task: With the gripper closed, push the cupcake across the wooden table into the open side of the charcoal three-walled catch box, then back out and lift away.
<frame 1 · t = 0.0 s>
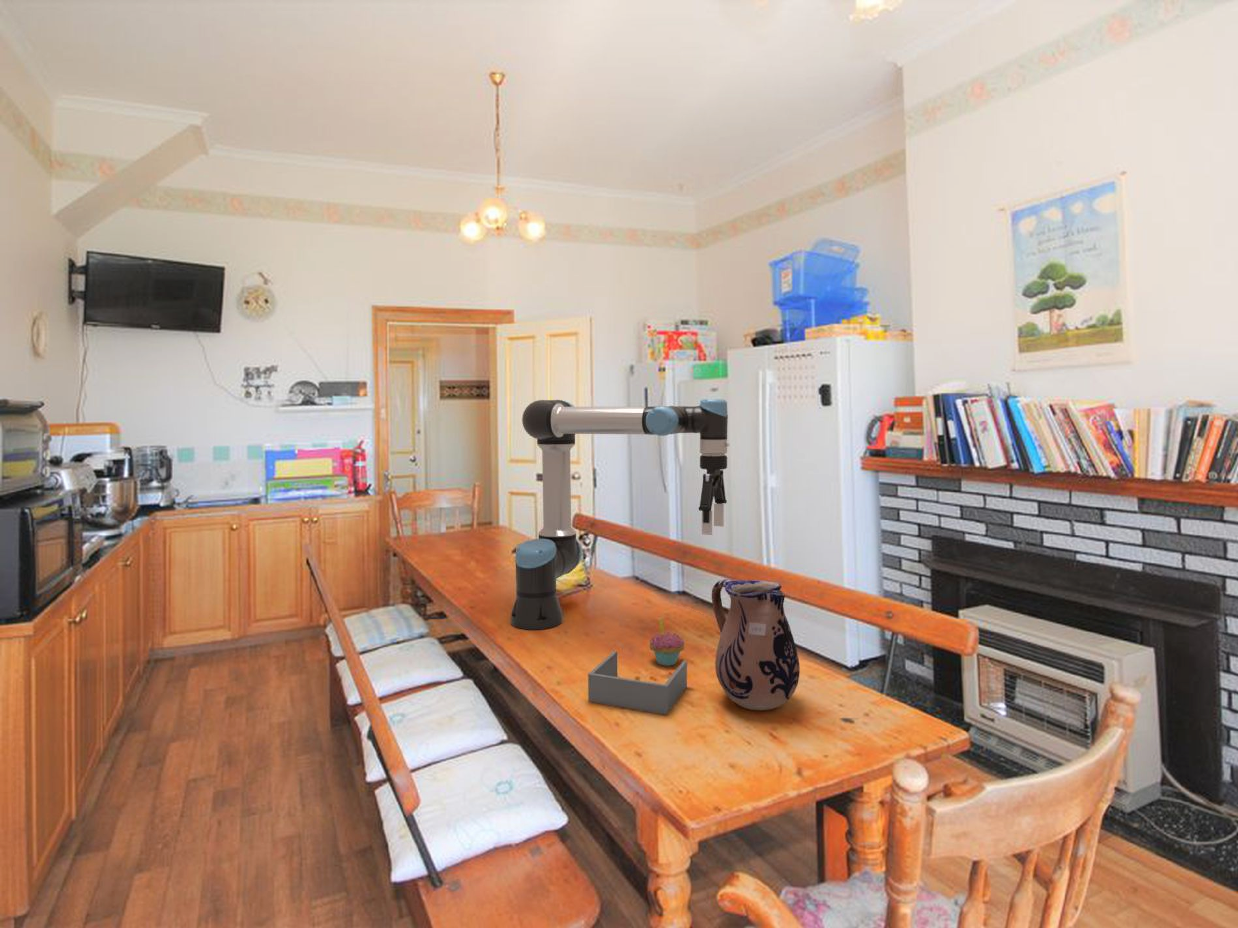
hand: (713, 530, 189), 28 cm above the table, tool pointing down, fingers open, 13 cm apart
catch box: (638, 693, 147), on the table
cupcake: (666, 662, 166), on the table
ceramic pitcher: (749, 700, 145), on the table
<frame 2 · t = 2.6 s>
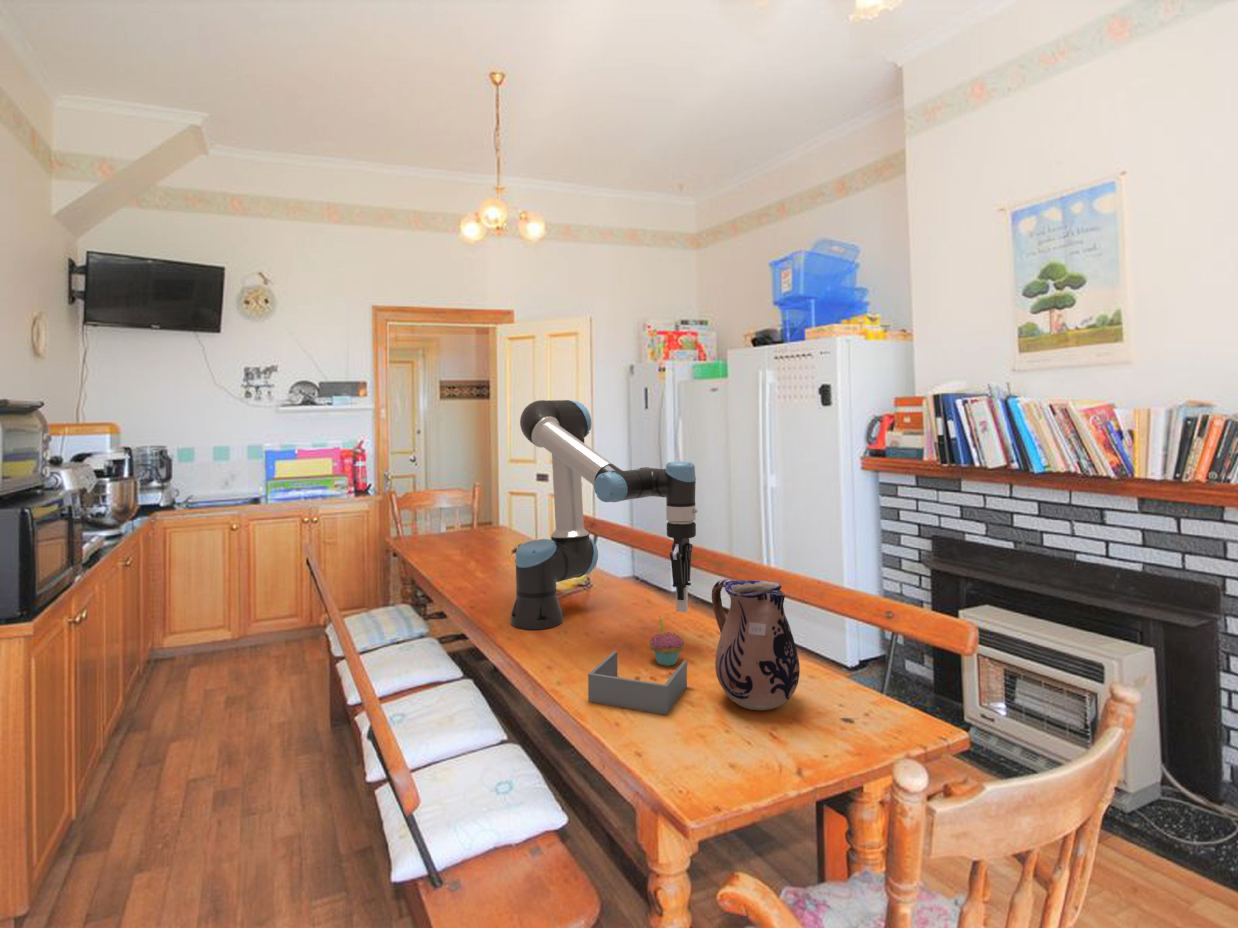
hand: (682, 610, 176), 9 cm above the table, tool pointing down, fingers closed
nothing on the table moved.
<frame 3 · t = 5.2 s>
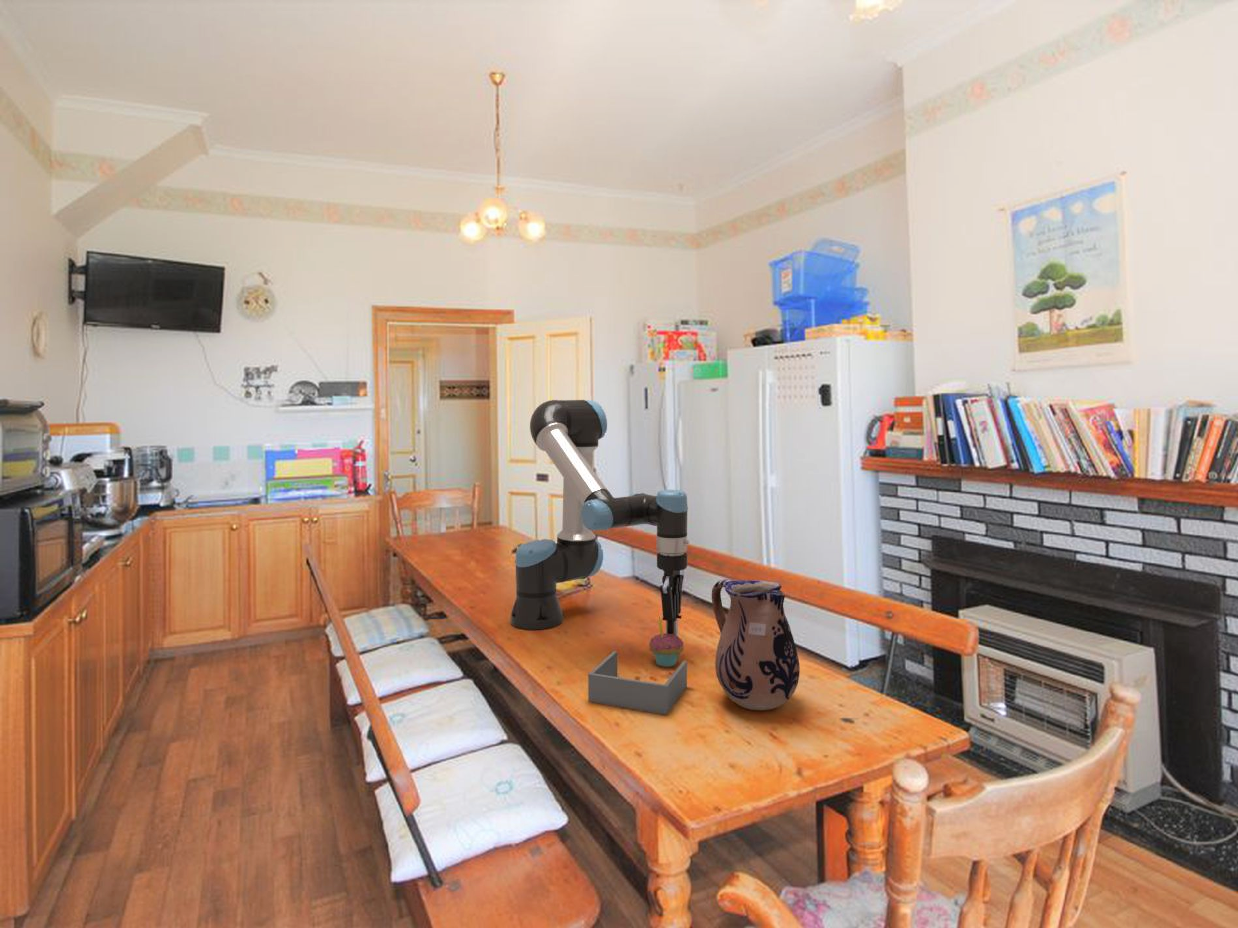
hand: (672, 644, 169), 3 cm above the table, tool pointing down, fingers closed
cupcake: (666, 663, 165), on the table, touching gripper
everything else where it was.
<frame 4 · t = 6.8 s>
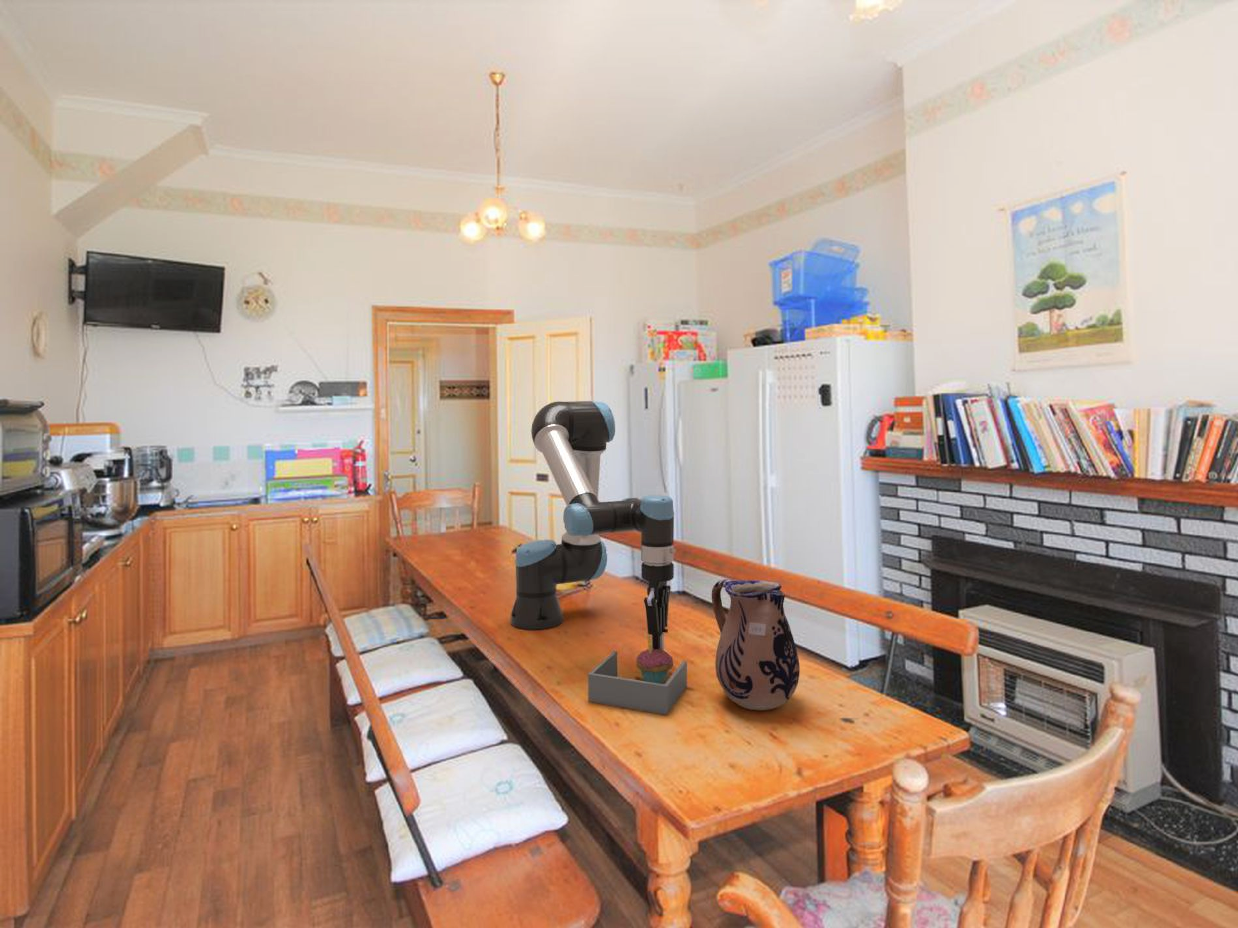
hand: (657, 660, 159), 3 cm above the table, tool pointing down, fingers closed
cupcake: (654, 681, 155), on the table, touching gripper
everything else where it was.
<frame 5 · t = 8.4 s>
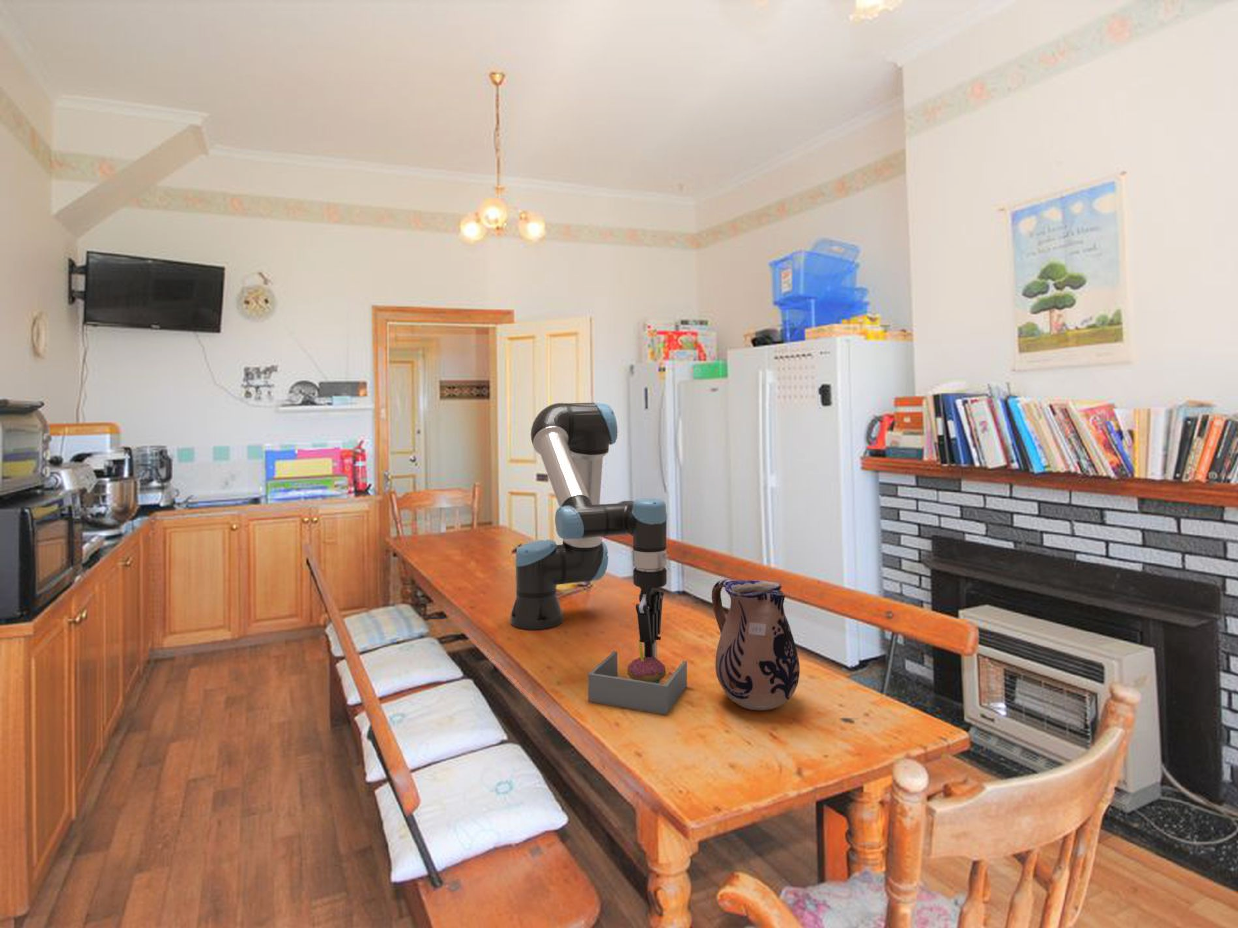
hand: (650, 668, 154), 3 cm above the table, tool pointing down, fingers closed
cupcake: (646, 690, 150), on the table, touching gripper
everything else where it was.
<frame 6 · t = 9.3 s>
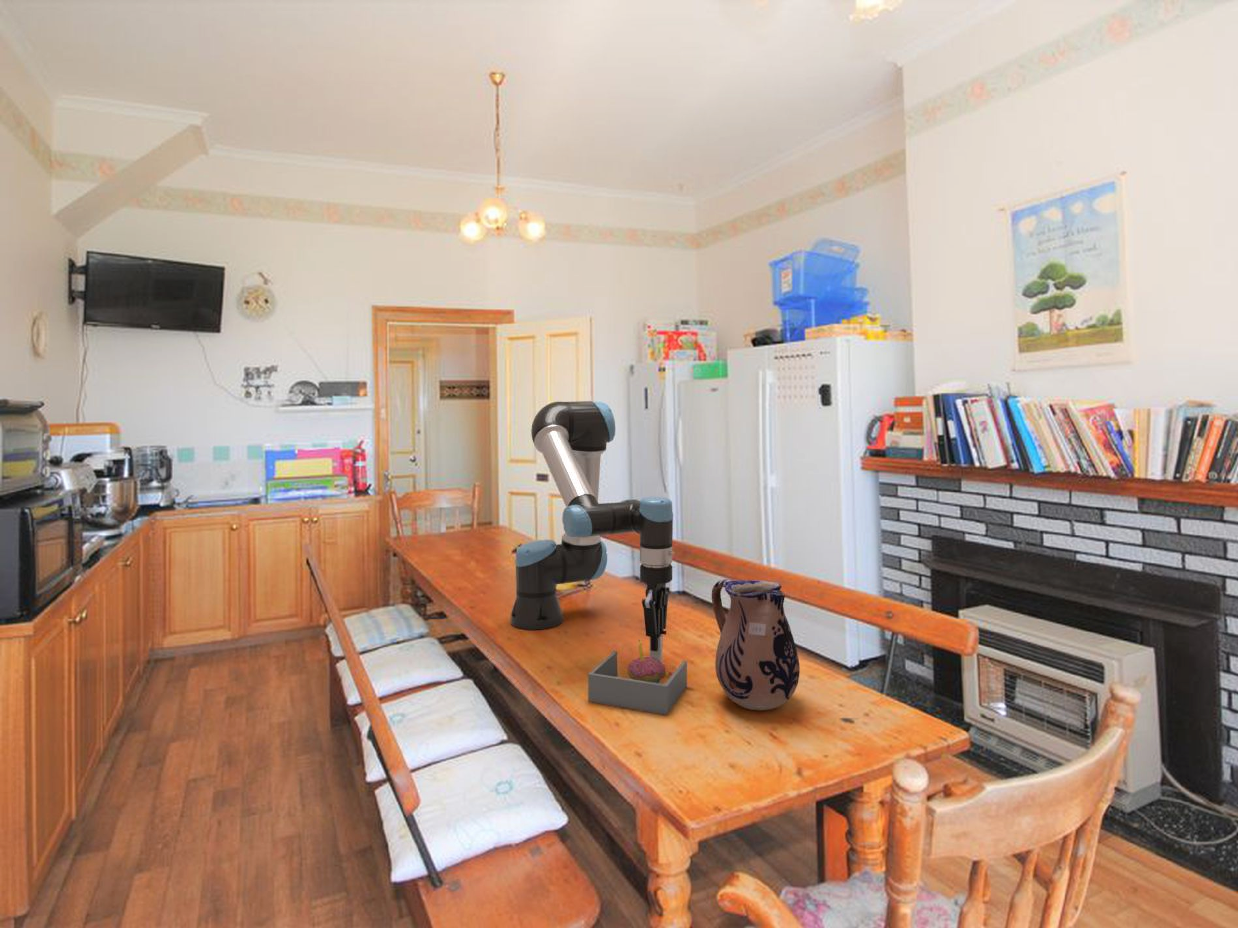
hand: (656, 662, 159), 3 cm above the table, tool pointing down, fingers closed
cupcake: (646, 690, 150), on the table
everything else where it was.
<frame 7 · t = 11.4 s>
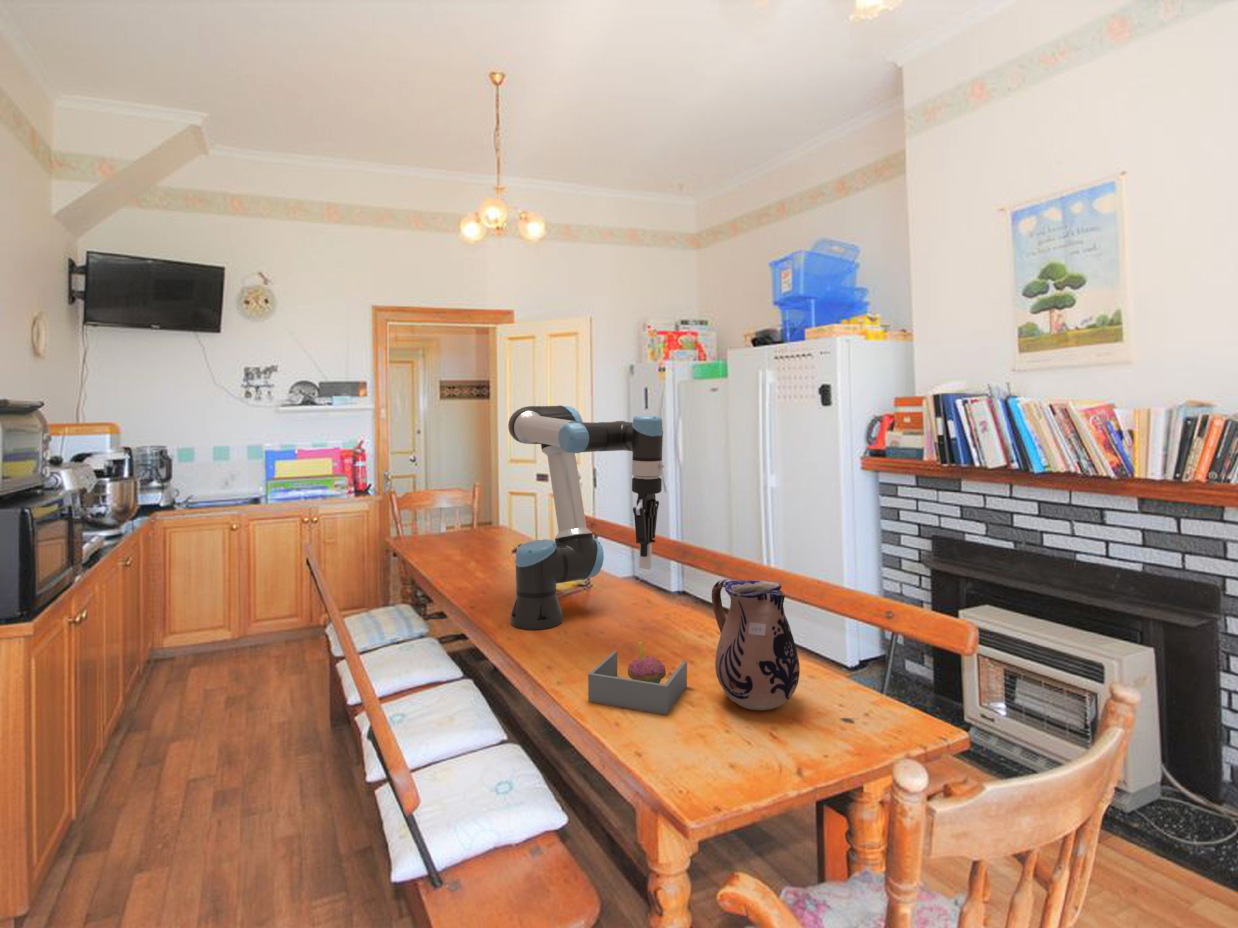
hand: (645, 567, 173), 21 cm above the table, tool pointing down, fingers closed
nothing on the table moved.
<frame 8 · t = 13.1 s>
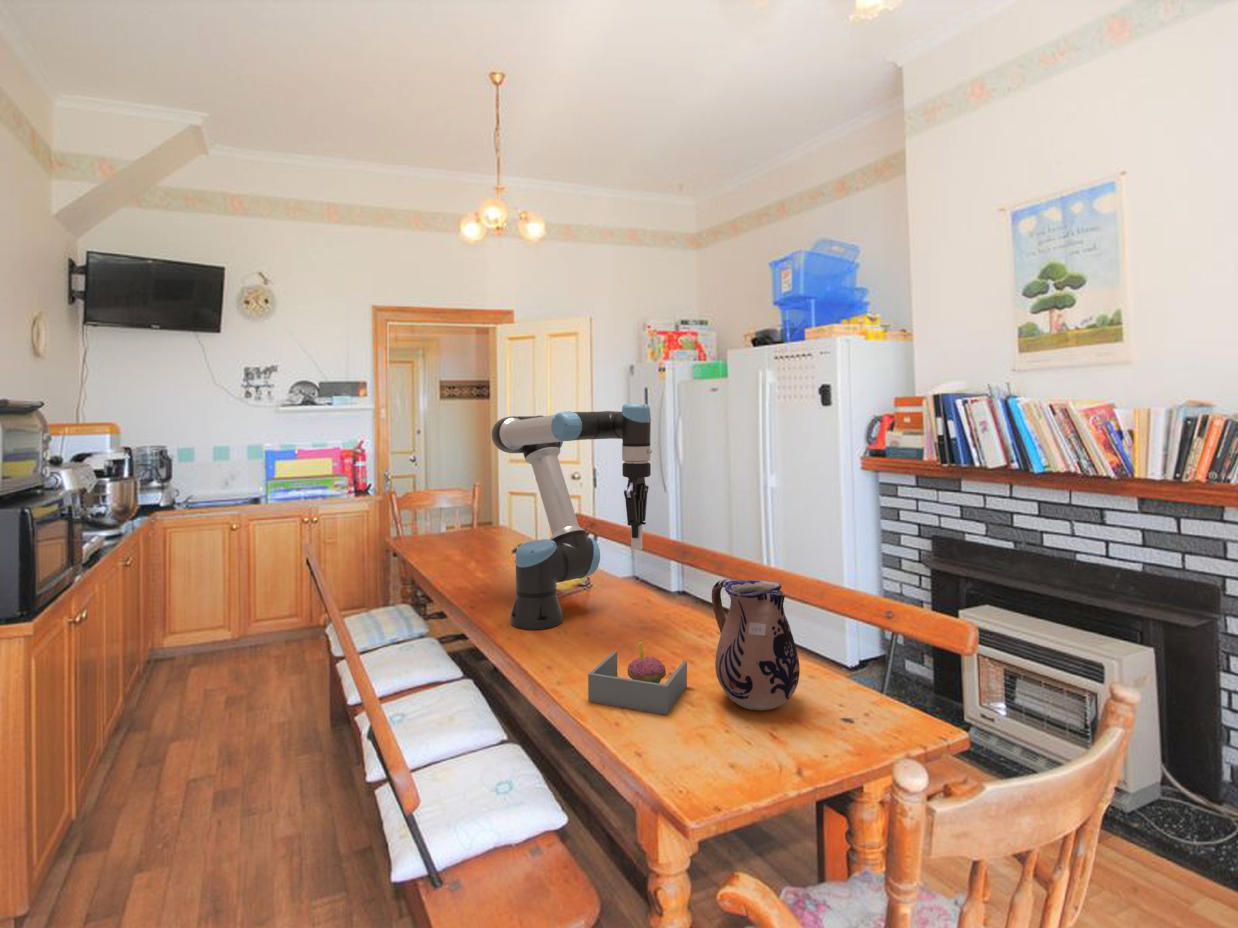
hand: (636, 549, 182), 24 cm above the table, tool pointing down, fingers closed
nothing on the table moved.
at the end: cupcake inside the target area on the catch box (2.9 cm from its centre), point 0.0 cm above the catch box's base; cupcake moved 17.3 cm from its start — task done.
